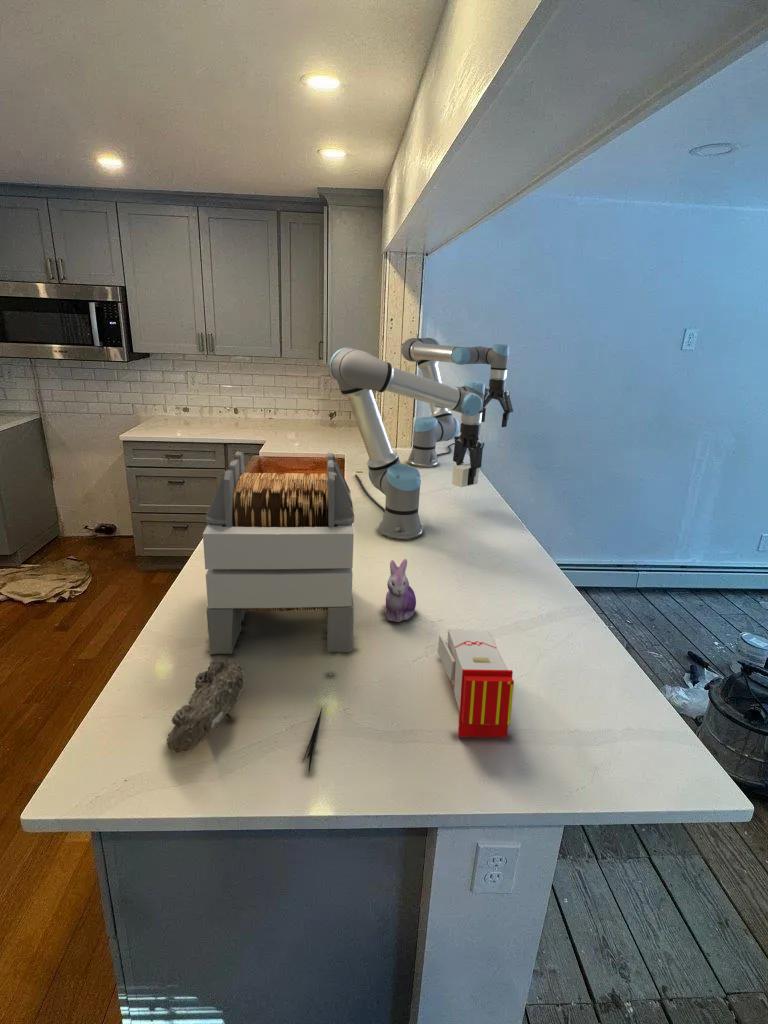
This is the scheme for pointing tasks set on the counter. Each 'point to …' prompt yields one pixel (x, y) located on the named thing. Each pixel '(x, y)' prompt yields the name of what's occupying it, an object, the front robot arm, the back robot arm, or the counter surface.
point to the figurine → (399, 594)
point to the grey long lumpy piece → (206, 705)
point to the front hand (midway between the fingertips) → (464, 482)
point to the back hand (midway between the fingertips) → (492, 424)
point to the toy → (478, 682)
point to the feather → (313, 740)
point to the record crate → (279, 550)
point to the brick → (463, 475)
